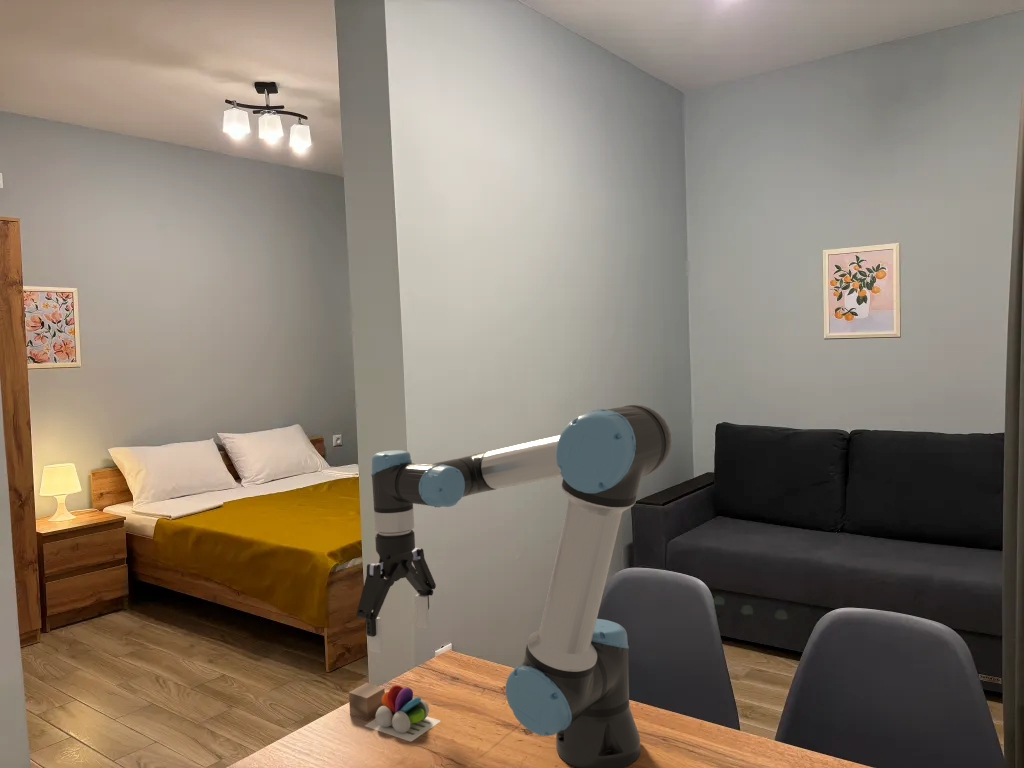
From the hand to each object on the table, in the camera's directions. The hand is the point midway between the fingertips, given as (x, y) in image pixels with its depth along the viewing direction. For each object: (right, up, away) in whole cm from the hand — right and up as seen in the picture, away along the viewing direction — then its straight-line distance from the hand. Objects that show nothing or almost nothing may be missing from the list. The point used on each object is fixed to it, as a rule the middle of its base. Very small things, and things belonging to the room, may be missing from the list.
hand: (400, 639), depth 147 cm
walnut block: (-7, -17, +6) cm, 20 cm away
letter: (0, -17, +1) cm, 17 cm away
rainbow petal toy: (0, -17, +1) cm, 17 cm away
